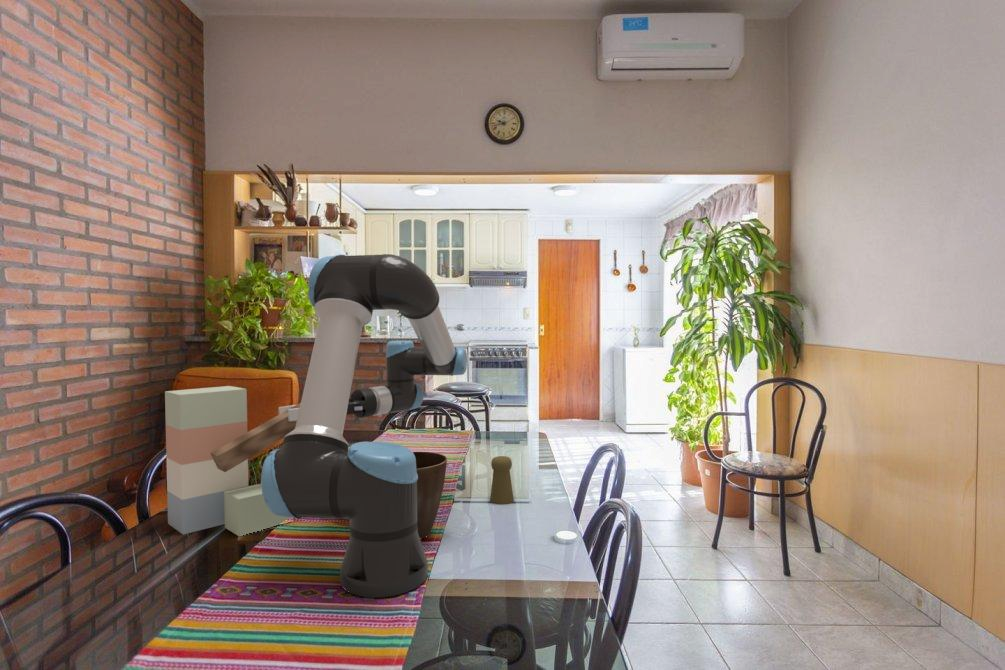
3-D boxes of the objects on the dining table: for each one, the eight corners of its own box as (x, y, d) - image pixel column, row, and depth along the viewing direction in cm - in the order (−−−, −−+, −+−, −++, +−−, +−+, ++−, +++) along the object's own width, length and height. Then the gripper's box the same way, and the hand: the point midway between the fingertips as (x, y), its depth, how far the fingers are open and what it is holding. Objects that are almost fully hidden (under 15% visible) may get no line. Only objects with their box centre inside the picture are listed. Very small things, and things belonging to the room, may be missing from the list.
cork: (514, 496, 145) (514, 454, 145) (512, 504, 139) (512, 460, 139) (491, 496, 145) (490, 453, 145) (488, 503, 139) (488, 459, 139)
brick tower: (231, 508, 138) (229, 385, 137) (249, 517, 131) (246, 388, 130) (167, 523, 128) (164, 391, 127) (182, 534, 121) (179, 395, 120)
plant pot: (435, 551, 111) (434, 470, 110) (364, 545, 114) (363, 467, 113) (456, 524, 125) (455, 452, 125) (393, 520, 128) (392, 450, 128)
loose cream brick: (277, 513, 133) (277, 480, 133) (293, 521, 128) (293, 486, 128) (224, 527, 125) (224, 491, 125) (239, 536, 119) (238, 499, 119)
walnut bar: (319, 409, 140) (313, 395, 138) (327, 411, 137) (321, 397, 136) (218, 468, 122) (210, 453, 121) (225, 472, 120) (217, 456, 118)
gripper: (389, 420, 142) (302, 435, 125) (352, 412, 154) (268, 425, 137) (389, 390, 142) (301, 401, 125) (352, 385, 154) (267, 394, 137)
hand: (284, 414), depth 131 cm, fingers closed on walnut bar, 4 cm apart
